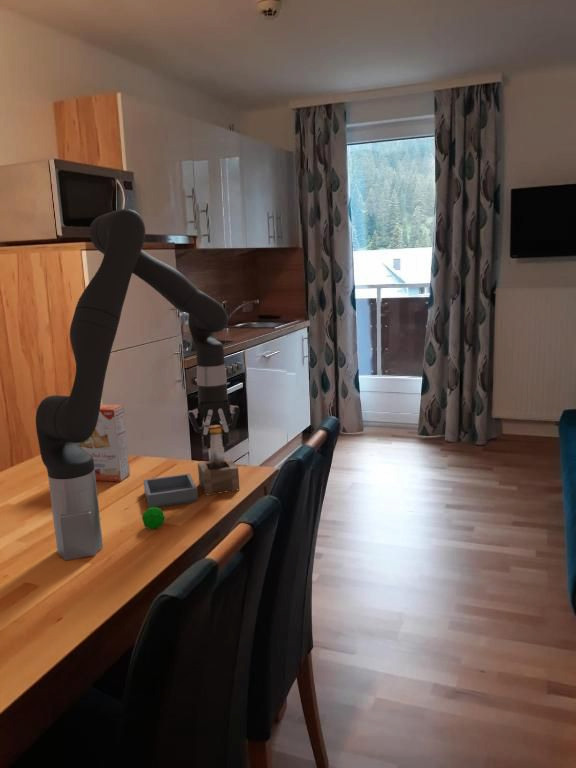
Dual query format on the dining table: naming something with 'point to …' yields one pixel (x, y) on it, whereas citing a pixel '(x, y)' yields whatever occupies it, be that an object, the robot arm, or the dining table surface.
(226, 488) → the wooden crate
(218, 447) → the gold capped jar
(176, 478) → the slate tray
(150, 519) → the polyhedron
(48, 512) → the dining table surface
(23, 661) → the dining table surface
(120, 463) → the cracker box
